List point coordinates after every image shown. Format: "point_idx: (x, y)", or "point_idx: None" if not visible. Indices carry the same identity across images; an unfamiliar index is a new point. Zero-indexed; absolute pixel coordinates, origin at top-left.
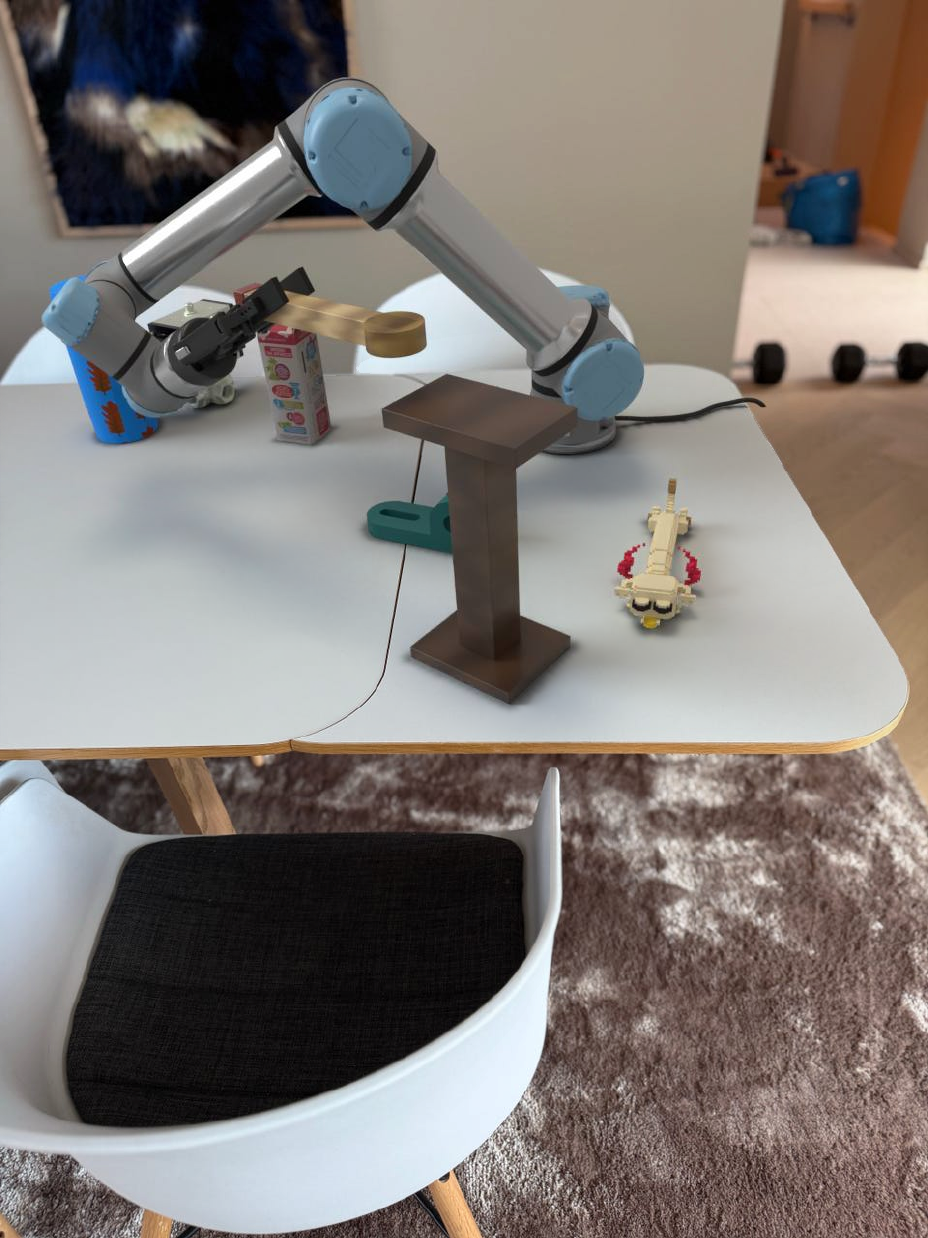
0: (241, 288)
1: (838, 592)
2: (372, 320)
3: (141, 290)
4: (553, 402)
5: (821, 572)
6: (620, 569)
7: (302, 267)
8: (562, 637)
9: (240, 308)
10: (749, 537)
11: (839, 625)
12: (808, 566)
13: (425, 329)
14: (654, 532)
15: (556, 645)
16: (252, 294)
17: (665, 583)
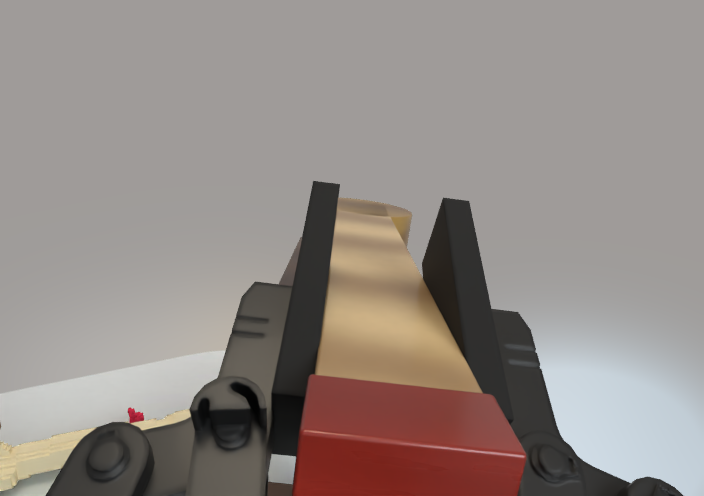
0: (455, 433)
1: (116, 373)
2: (377, 214)
3: None
4: (300, 243)
5: (85, 382)
6: None
7: (316, 184)
8: (270, 486)
9: (546, 400)
10: (16, 424)
11: (162, 370)
12: (75, 388)
13: None
14: (72, 448)
15: (285, 485)
16: (491, 319)
17: (188, 414)
